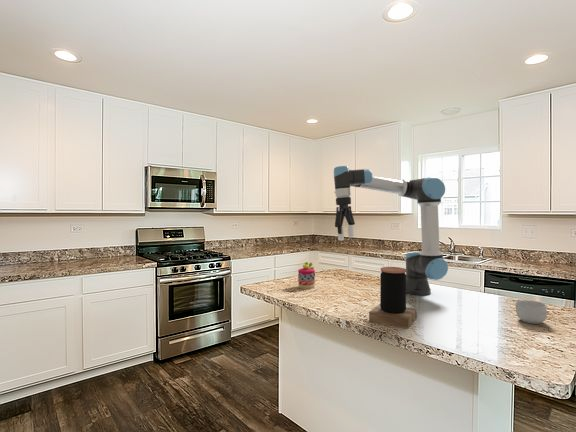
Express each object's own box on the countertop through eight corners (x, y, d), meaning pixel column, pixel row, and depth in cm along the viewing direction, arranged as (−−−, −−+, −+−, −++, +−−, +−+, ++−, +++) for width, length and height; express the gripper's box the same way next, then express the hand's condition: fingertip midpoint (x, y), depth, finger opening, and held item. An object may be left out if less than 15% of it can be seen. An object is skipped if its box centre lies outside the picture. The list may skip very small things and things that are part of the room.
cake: (315, 289, 200) (315, 264, 200) (298, 289, 200) (298, 264, 200) (314, 285, 211) (314, 261, 210) (297, 285, 211) (297, 261, 211)
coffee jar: (410, 310, 145) (410, 268, 144) (399, 315, 137) (399, 272, 136) (387, 305, 152) (387, 265, 151) (375, 310, 144) (375, 268, 144)
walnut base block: (380, 311, 155) (380, 303, 155) (416, 317, 147) (416, 308, 147) (369, 321, 142) (369, 312, 142) (408, 328, 133) (408, 318, 133)
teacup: (548, 327, 134) (548, 307, 134) (515, 323, 140) (515, 304, 140) (544, 318, 146) (544, 300, 146) (514, 314, 152) (514, 296, 152)
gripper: (345, 197, 182) (348, 236, 182) (325, 197, 160) (329, 241, 160) (358, 196, 178) (361, 236, 178) (340, 196, 156) (343, 241, 157)
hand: (346, 238), depth 169 cm, fingers open, 13 cm apart
